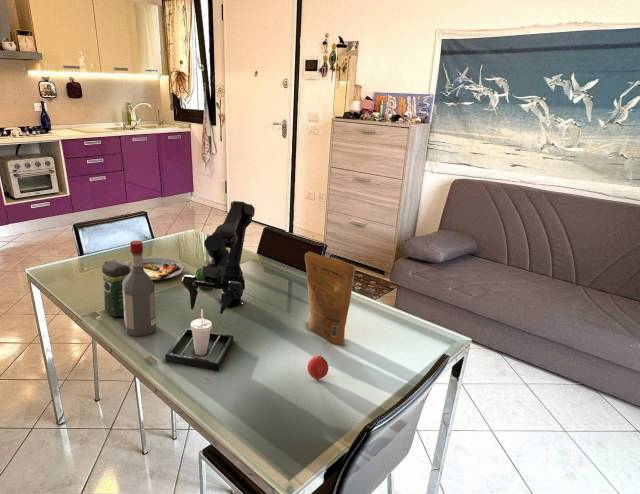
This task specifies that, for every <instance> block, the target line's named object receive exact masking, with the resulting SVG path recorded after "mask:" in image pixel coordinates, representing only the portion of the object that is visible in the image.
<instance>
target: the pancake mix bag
mask: <svg viewBox="0 0 640 494" xmlns="http://www.w3.org/2000/svg"><path fill="white" fill-rule="evenodd" d="M304 262H305V270H306V281H307V292H308V293H307V294H308V307H309V319H308V330H309V331H311V332H313V333H315V334H316V335H318V336H319V337H321V338H322V339H324V340H326V341H327V342H329V343H331V344H332V345H333V344H334V345H341V346H342V345H345V332H346V331H345V330H346V324H347V319H348V314H349V310H350V309H349V308H350V306H351V305H350V304H351V298H352V291H353V285H354V282H355V281H354V280H355V275H356V274H355V273H356V270H357V268H356V267H355V266H353V265H351V264H350V263H347V262H344V261H342V260H339V259H335V258H332V257H328V256H325V255H321V254H318V253H315V252H313V251H307V252H305V253H304Z"/></svg>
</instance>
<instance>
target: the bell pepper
mask: <svg viewBox="0 0 640 494" xmlns="http://www.w3.org/2000/svg"><path fill="white" fill-rule="evenodd" d="M201 269H202V267H201V268H200V267H199V268H197V269H196V272H195V276H196V277H197V279H198V280H201V281H205V279H203V278H202V277H203V276H201ZM198 289H199V290H201V291H206V292H207V291H209V290H213V288H206V287H198Z"/></svg>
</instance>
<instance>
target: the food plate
mask: <svg viewBox="0 0 640 494" xmlns="http://www.w3.org/2000/svg"><path fill="white" fill-rule="evenodd" d="M142 259H143V269H144V271H145V272H146V273H147V274H148V275H149V276H150V277H151V279H152V281H161V280H168V279H171V278H174V277H176V276H180V275H181V274H182V273H183V272H184V270H185V267H184V265H183V264H181V262H178V261H175V260H173V259H169V258H167V257H142ZM126 264H127V265H128V266H129V268H130V272H131V271H132V270H131V269H132V260H131V261H129V262H127V263H126Z"/></svg>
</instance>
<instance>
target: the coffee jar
mask: <svg viewBox="0 0 640 494" xmlns="http://www.w3.org/2000/svg"><path fill="white" fill-rule="evenodd" d="M129 273H130V268H129V266H128V265H127V263H125V262H123V261H121V260H117V259H110V260H106V261H104V262H103V263H102V265H101V275H102V279H103V281H102V282H103V295H104V299H103V301H104V311H105V312H106V313H107V314H108V315H110V316H111V317H113V318H120V317H123V318H124V305H123V288H122V282H123V280H124V279H125V278H126V276H127V275H128V274H129Z"/></svg>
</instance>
